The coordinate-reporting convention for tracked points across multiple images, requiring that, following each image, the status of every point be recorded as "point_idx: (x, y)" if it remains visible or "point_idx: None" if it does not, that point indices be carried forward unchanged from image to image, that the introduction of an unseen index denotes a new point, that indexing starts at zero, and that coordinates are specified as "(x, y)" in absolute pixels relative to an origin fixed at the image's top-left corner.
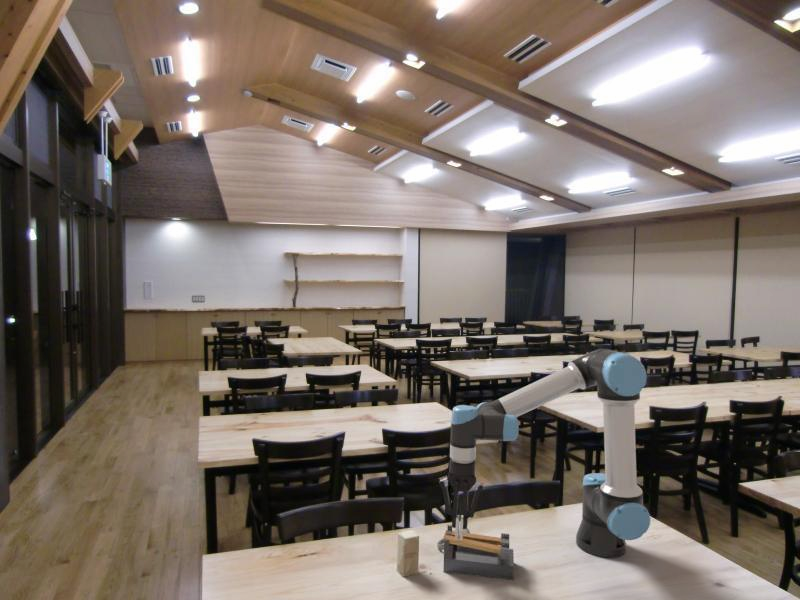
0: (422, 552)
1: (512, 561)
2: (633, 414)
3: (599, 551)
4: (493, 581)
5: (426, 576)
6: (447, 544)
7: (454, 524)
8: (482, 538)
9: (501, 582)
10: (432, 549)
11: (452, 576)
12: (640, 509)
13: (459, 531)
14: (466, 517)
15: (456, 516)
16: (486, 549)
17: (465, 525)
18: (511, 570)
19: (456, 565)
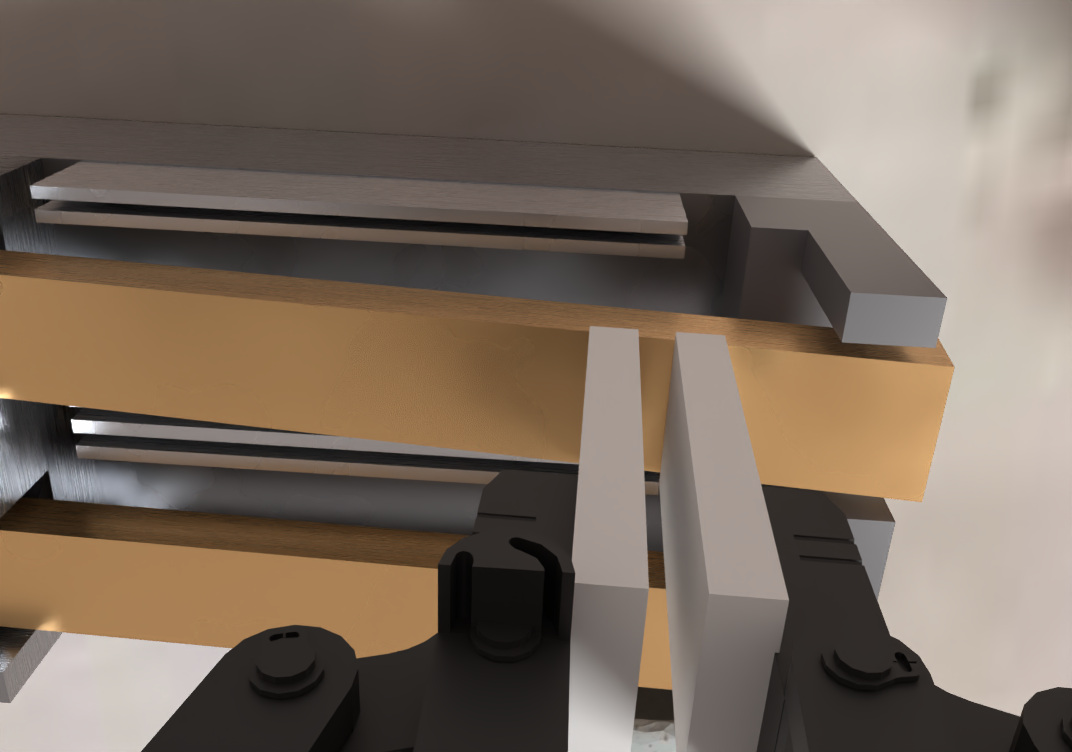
0: (1045, 532)
1: None
2: None
3: None
4: (197, 44)
5: (1051, 5)
6: (858, 265)
7: (789, 533)
8: (280, 568)
9: (102, 38)
10: (921, 602)
11: (705, 68)
12: None
13: (636, 727)
14: (465, 627)
15: (775, 682)
16: (184, 276)
17: (514, 519)
18: None
19: (662, 170)
